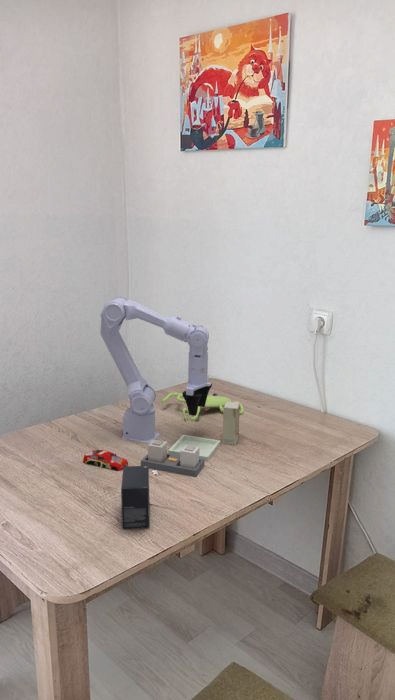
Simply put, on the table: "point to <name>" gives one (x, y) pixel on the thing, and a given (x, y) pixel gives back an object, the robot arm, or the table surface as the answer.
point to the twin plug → (157, 451)
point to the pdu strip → (173, 465)
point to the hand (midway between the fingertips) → (197, 410)
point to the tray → (205, 446)
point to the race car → (105, 460)
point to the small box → (135, 497)
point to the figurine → (210, 402)
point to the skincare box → (231, 423)
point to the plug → (189, 456)
